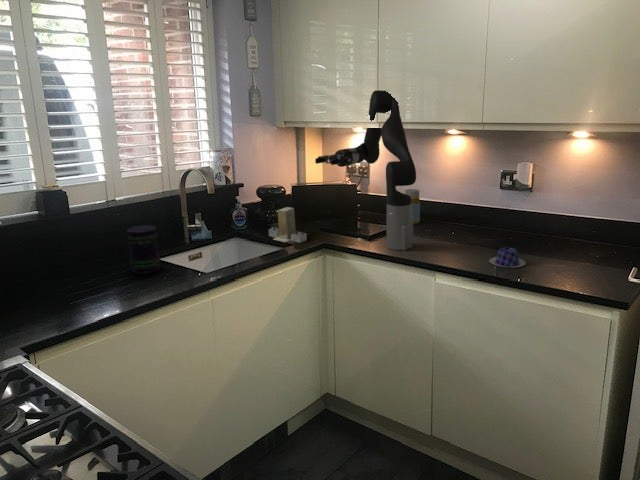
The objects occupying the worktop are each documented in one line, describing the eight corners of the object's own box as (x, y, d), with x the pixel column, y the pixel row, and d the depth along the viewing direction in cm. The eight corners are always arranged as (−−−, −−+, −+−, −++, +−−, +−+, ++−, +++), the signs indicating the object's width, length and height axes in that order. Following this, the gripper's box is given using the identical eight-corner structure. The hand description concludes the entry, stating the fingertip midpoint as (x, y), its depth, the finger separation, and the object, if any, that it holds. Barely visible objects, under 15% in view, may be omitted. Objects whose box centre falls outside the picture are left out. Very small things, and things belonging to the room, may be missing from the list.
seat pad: (301, 236, 231) (301, 235, 230) (285, 242, 223) (285, 241, 223) (289, 234, 235) (289, 233, 235) (273, 239, 228) (273, 238, 227)
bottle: (402, 224, 245) (403, 191, 240) (405, 221, 251) (405, 188, 247) (418, 225, 243) (419, 192, 238) (420, 221, 249) (421, 189, 245)
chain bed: (306, 240, 225) (306, 232, 224) (300, 242, 222) (300, 234, 221) (275, 234, 236) (274, 225, 235) (268, 236, 233) (268, 227, 232)
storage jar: (126, 269, 196) (121, 229, 192) (152, 262, 203) (147, 223, 199) (140, 275, 189) (134, 233, 185) (165, 268, 196) (161, 228, 192)
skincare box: (287, 234, 233) (286, 206, 229) (296, 236, 230) (294, 207, 227) (278, 238, 228) (277, 209, 224) (287, 239, 225) (285, 210, 222)
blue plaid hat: (532, 266, 186) (534, 252, 185) (502, 271, 183) (503, 256, 181) (510, 256, 197) (511, 242, 196) (482, 260, 194) (482, 246, 192)
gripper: (334, 147, 247) (310, 152, 235) (359, 149, 238) (336, 153, 226) (334, 164, 249) (311, 169, 237) (359, 166, 240) (337, 171, 228)
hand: (323, 161), depth 232 cm, fingers open, 8 cm apart
